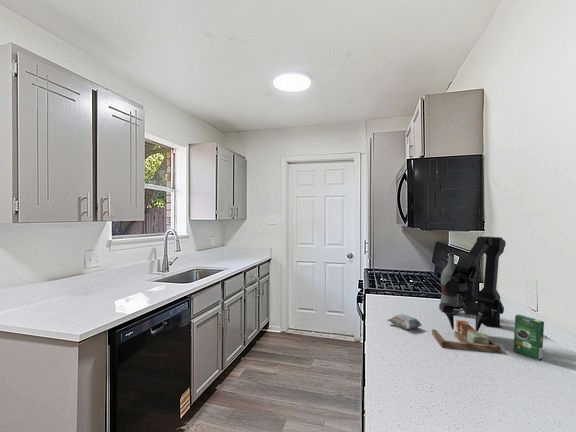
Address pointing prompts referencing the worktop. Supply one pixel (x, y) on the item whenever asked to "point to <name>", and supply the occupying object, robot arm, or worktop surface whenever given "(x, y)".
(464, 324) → the block
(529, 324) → the coffee box
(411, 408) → the worktop surface
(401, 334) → the worktop surface
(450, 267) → the bottle
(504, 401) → the worktop surface
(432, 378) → the worktop surface
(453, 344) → the lane rack
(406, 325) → the packaged food
